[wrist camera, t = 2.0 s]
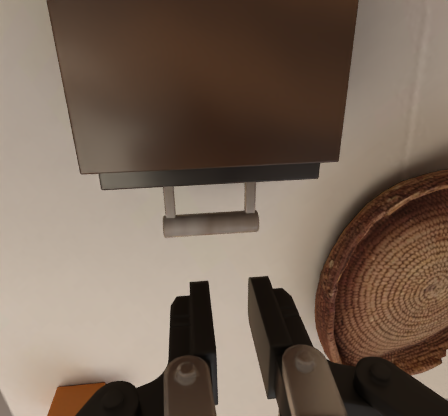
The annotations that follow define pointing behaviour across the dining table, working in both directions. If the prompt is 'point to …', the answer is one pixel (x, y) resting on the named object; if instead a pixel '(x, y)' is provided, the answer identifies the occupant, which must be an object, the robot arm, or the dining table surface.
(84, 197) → the dining table surface
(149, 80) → the cabinet
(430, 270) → the basket
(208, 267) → the dining table surface
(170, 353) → the robot arm
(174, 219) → the drawer
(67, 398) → the block
